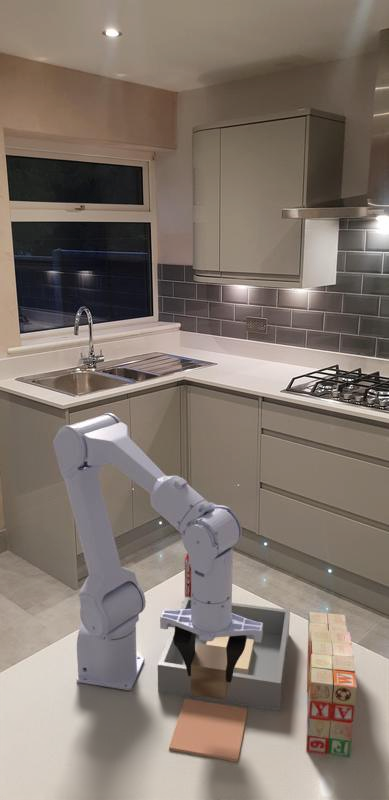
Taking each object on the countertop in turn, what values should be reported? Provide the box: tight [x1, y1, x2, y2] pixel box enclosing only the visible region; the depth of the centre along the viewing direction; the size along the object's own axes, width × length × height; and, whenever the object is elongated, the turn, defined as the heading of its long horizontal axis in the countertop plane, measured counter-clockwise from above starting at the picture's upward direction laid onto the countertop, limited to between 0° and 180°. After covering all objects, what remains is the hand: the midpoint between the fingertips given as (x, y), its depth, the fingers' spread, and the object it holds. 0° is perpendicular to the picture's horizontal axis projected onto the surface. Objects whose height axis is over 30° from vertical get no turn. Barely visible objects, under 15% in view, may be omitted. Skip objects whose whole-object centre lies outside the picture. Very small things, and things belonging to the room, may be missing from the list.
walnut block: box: [191, 643, 229, 700], centre depth 94 cm, size 5×5×5 cm
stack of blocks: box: [305, 611, 358, 758], centre depth 101 cm, size 21×6×12 cm, turn 170°
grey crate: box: [157, 596, 291, 712], centre depth 111 cm, size 20×20×6 cm
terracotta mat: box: [168, 698, 249, 763], centre depth 96 cm, size 10×10×1 cm
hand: (210, 674), depth 94 cm, fingers closed on walnut block, 5 cm apart
